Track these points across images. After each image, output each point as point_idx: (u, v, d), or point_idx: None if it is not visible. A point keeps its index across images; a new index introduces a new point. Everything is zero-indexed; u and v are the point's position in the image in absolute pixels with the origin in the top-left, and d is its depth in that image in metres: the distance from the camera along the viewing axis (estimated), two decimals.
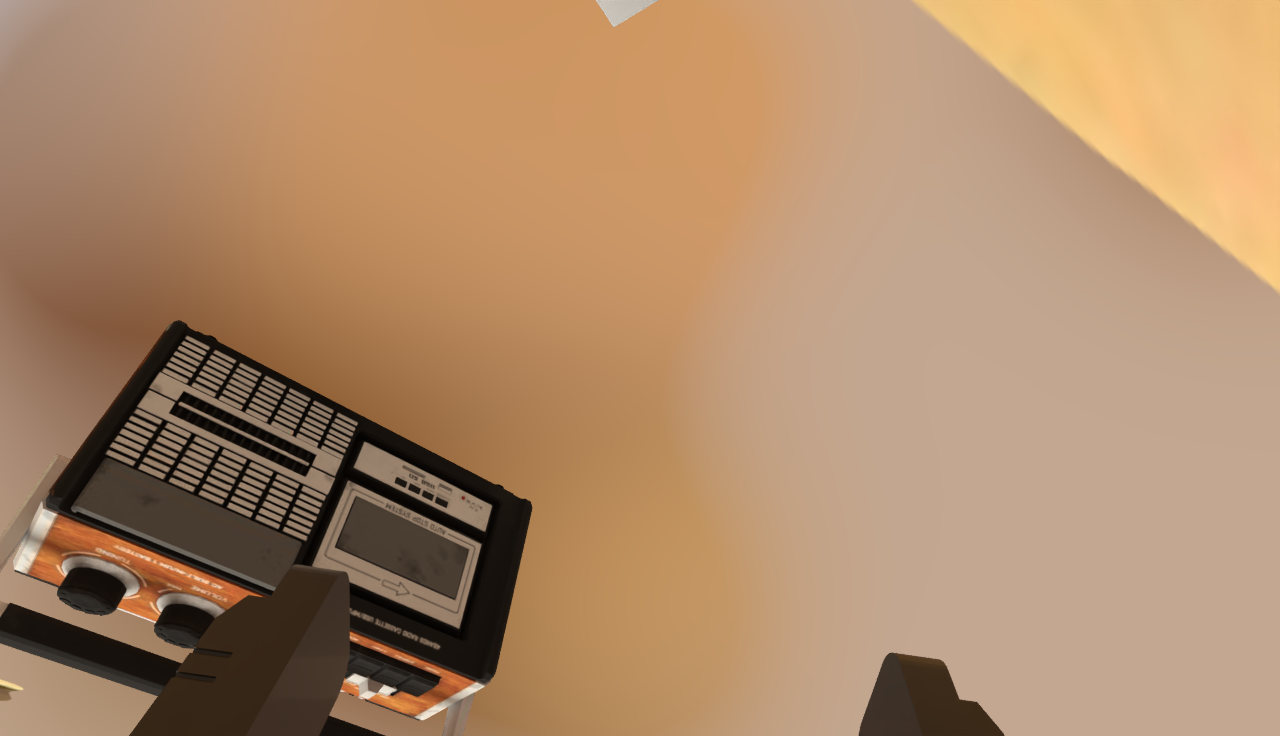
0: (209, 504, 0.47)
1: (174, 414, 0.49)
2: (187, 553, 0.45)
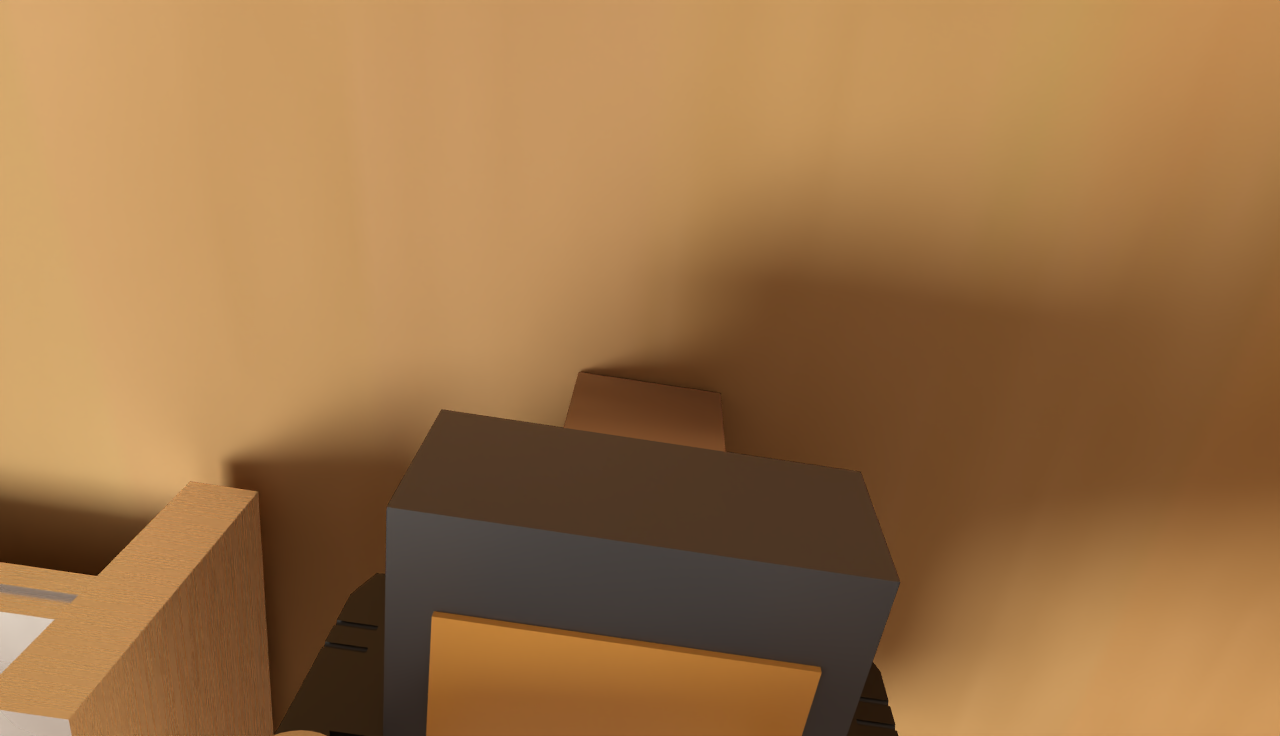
0: None
1: None
2: None
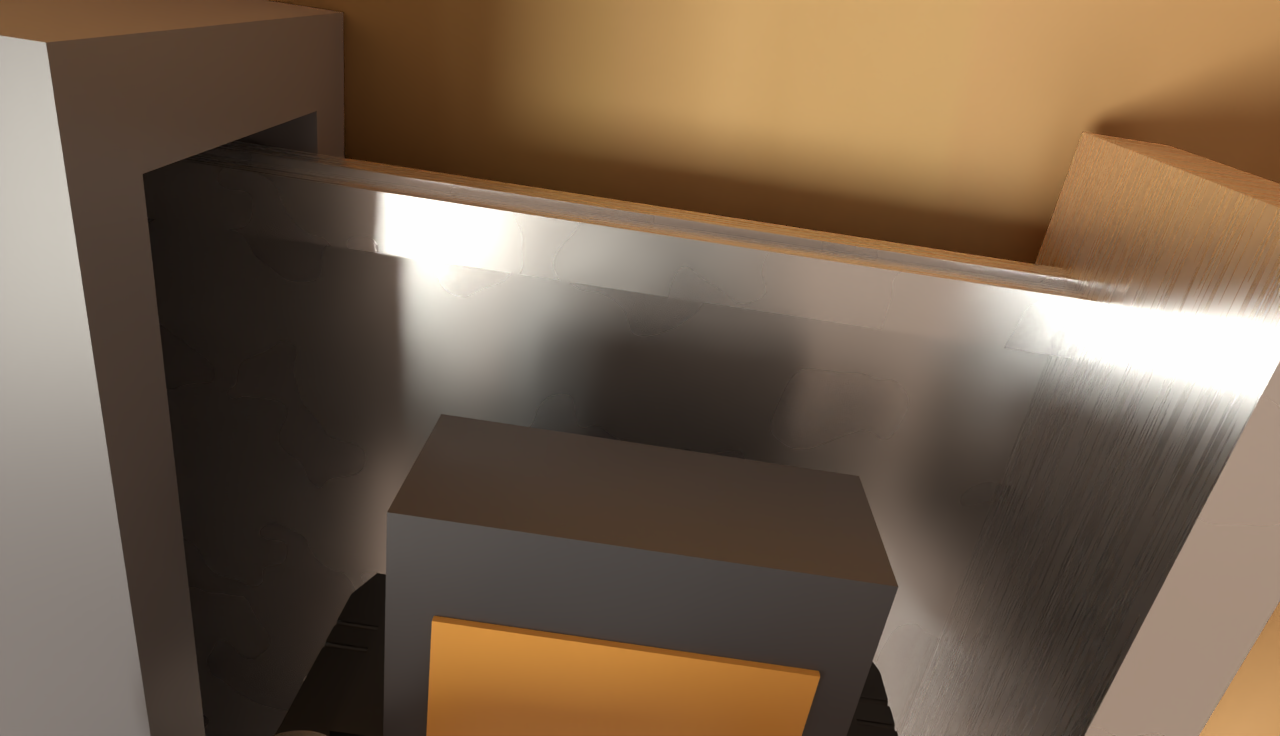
0: None
1: None
2: None
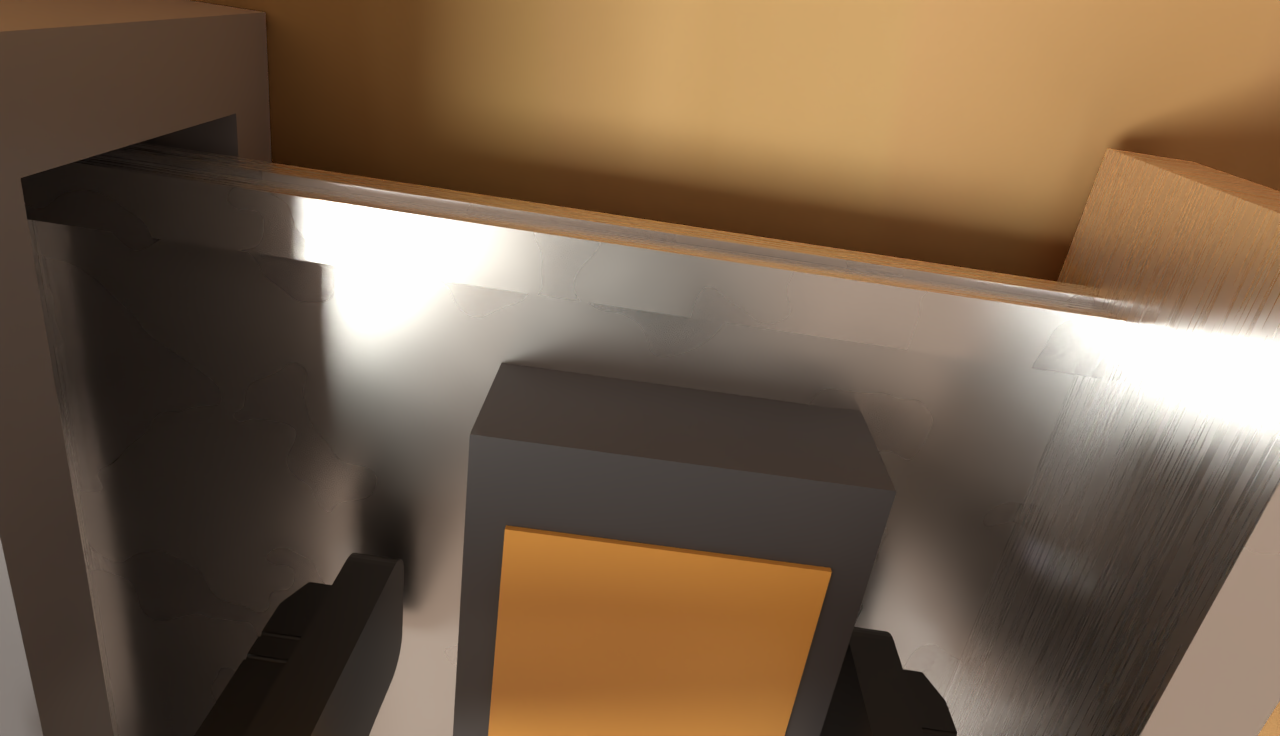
0: None
1: None
2: None
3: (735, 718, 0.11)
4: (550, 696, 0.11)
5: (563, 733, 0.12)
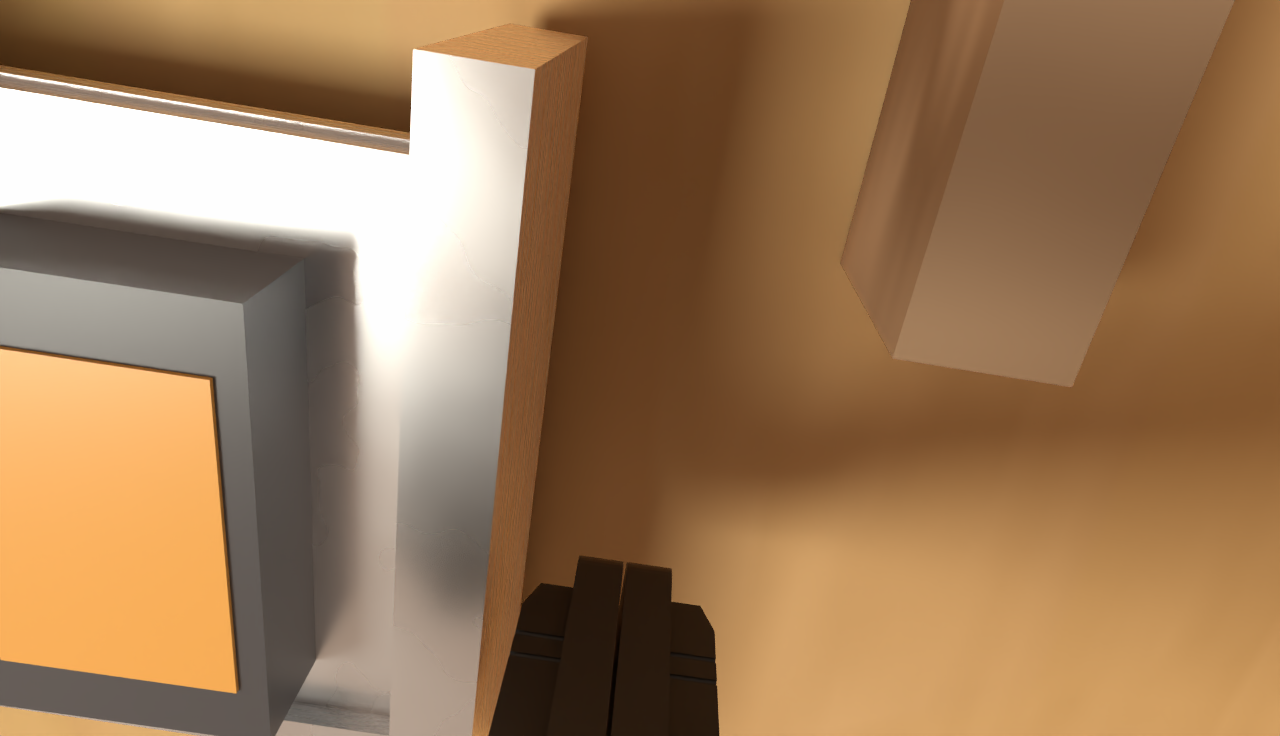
0: None
1: None
2: None
3: (181, 525, 0.13)
4: (16, 502, 0.13)
5: (40, 540, 0.13)
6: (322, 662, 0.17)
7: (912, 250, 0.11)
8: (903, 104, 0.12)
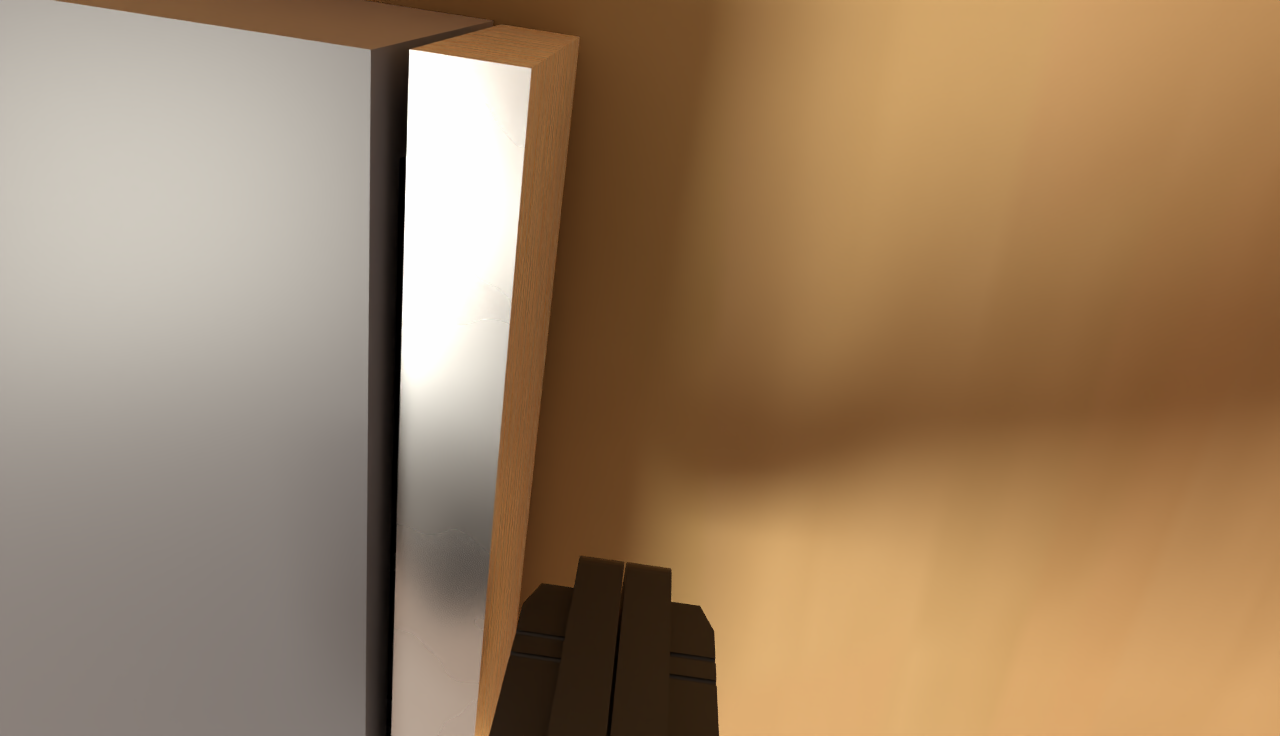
0: None
1: None
2: None
3: None
4: None
5: None
6: None
7: None
8: None
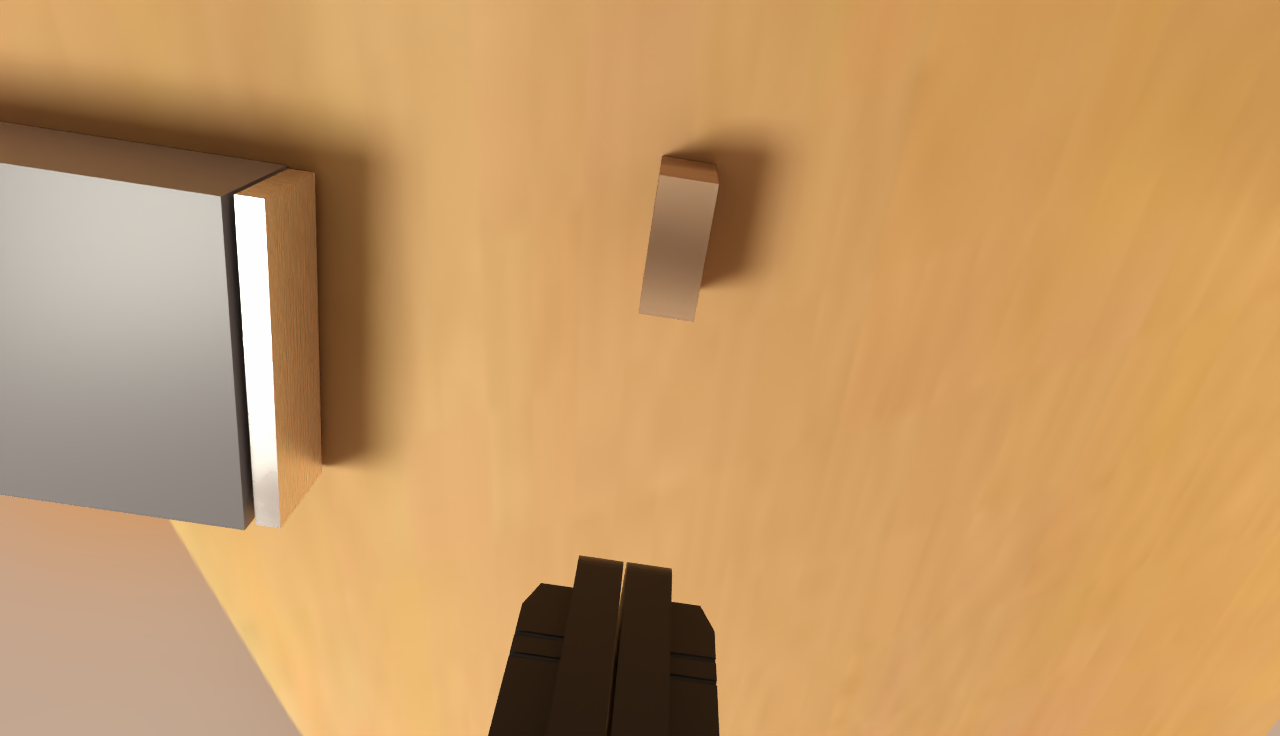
0: None
1: None
2: None
3: None
4: None
5: None
6: None
7: (643, 280, 0.36)
8: None
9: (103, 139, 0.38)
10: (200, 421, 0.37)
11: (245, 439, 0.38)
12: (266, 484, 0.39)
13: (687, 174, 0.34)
